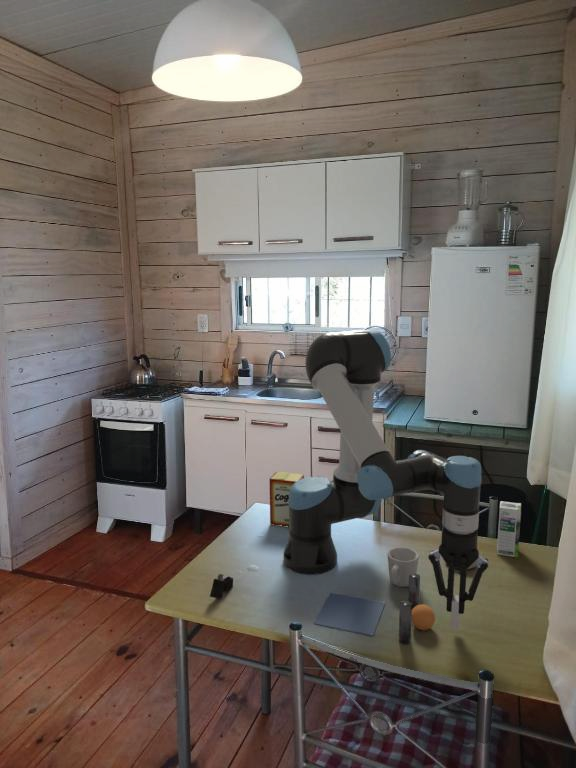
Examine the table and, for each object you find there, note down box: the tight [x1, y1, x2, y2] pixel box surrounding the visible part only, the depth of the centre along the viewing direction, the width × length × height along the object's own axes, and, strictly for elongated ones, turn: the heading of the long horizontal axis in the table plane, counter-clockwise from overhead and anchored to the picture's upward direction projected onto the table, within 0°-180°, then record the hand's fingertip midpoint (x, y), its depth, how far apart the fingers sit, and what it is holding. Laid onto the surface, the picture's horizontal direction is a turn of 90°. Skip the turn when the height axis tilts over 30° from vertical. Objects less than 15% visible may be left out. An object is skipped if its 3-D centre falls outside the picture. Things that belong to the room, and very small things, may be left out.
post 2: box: [407, 573, 421, 609], centre depth 144 cm, size 3×3×9 cm
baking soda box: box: [269, 471, 305, 528], centre depth 193 cm, size 10×6×16 cm
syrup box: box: [496, 500, 522, 559], centre depth 172 cm, size 6×6×14 cm
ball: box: [411, 603, 436, 631], centre depth 138 cm, size 6×6×6 cm
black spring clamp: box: [209, 573, 234, 600], centre depth 153 cm, size 9×2×6 cm
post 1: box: [398, 600, 412, 645], centre depth 133 cm, size 3×3×9 cm
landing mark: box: [313, 591, 386, 637], centre depth 144 cm, size 14×14×1 cm
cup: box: [387, 546, 420, 588], centre depth 156 cm, size 11×8×8 cm
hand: (454, 624), depth 136 cm, fingers closed
